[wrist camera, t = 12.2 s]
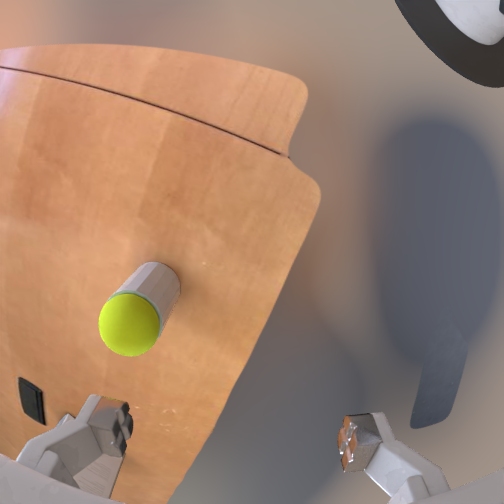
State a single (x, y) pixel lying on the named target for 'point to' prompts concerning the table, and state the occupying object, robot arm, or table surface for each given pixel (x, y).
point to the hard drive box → (98, 472)
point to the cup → (154, 288)
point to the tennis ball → (129, 324)
